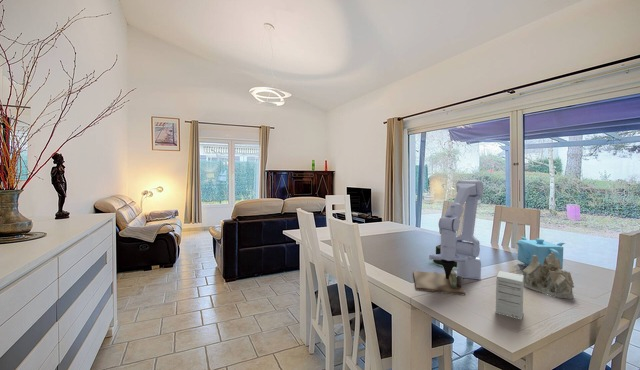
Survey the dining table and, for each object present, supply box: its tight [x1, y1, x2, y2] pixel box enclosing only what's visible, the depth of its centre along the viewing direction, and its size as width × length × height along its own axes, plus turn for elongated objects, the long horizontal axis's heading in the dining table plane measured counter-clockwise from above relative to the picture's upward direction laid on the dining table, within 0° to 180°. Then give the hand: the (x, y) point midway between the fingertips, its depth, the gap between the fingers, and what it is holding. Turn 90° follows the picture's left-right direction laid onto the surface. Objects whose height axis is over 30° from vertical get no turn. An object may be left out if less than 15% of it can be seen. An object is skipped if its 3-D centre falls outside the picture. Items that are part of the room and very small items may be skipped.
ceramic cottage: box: [522, 252, 575, 300], centre depth 115 cm, size 16×16×15 cm
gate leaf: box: [449, 268, 457, 288], centre depth 120 cm, size 16×2×5 cm, turn 162°
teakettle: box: [514, 236, 566, 270], centre depth 142 cm, size 19×19×15 cm
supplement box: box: [495, 270, 525, 320], centre depth 96 cm, size 7×7×13 cm
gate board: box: [413, 270, 467, 296], centre depth 121 cm, size 18×20×5 cm
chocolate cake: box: [430, 244, 457, 270], centre depth 150 cm, size 20×20×9 cm
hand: (447, 278), depth 118 cm, fingers closed
